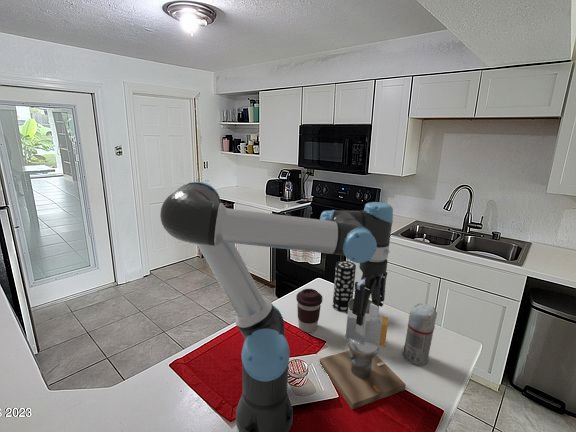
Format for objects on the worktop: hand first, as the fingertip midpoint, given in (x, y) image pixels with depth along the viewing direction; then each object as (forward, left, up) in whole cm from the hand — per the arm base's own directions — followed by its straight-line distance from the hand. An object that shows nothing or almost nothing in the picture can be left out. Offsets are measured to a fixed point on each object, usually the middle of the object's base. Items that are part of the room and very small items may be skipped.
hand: (366, 328), depth 95 cm
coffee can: (+11, +16, -18) cm, 26 cm away
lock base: (0, 0, -18) cm, 18 cm away
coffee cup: (-4, +29, -18) cm, 34 cm away
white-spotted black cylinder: (+17, +37, -18) cm, 44 cm away
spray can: (+23, 0, -18) cm, 29 cm away
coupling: (0, 0, -7) cm, 7 cm away
